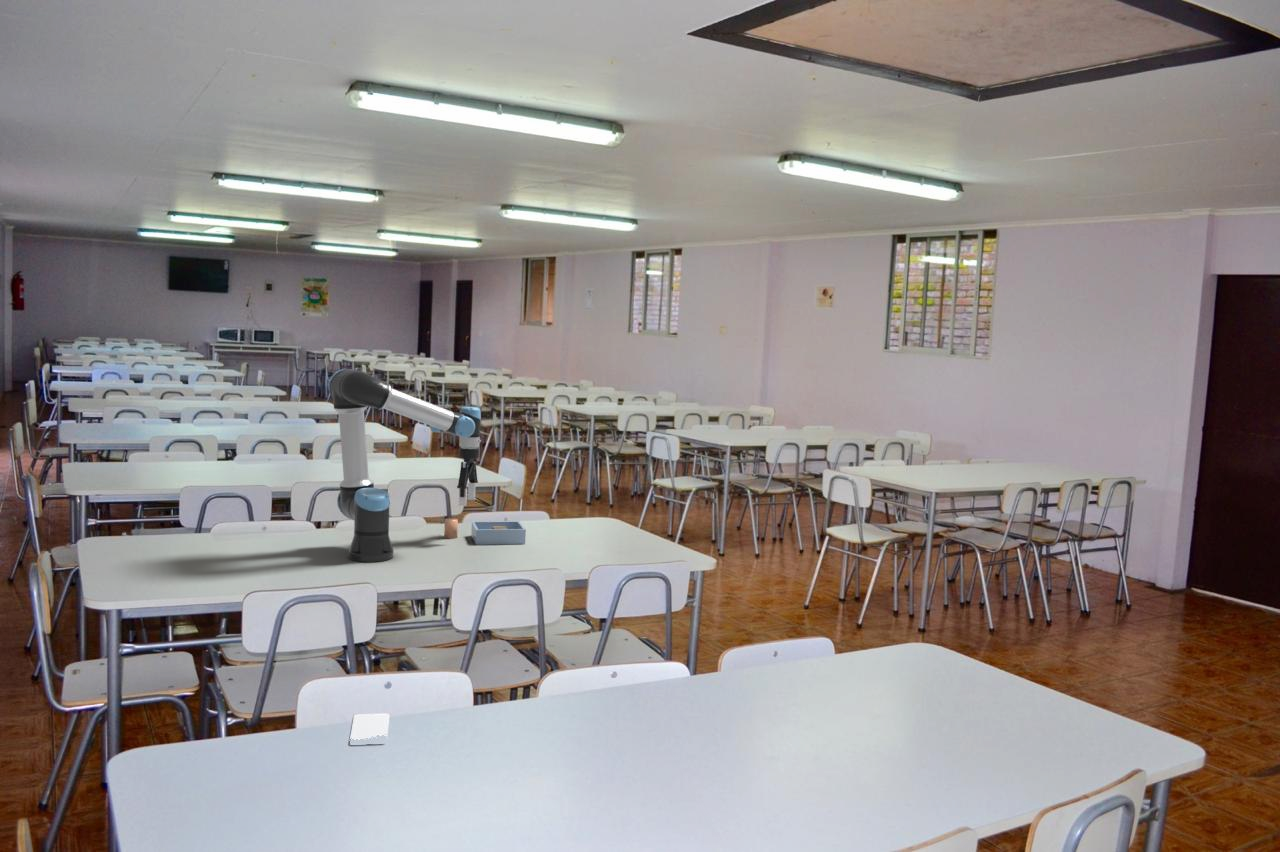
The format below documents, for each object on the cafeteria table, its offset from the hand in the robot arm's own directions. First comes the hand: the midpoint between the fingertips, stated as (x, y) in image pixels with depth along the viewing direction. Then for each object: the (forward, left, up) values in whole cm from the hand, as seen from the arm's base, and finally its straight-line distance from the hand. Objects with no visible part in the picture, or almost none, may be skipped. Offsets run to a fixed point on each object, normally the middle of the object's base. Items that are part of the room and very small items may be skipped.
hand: (466, 502), depth 379 cm
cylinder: (-5, +3, -14) cm, 16 cm away
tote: (+12, -2, -14) cm, 19 cm away
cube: (+12, -6, -14) cm, 19 cm away
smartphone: (-37, -176, -15) cm, 181 cm away
